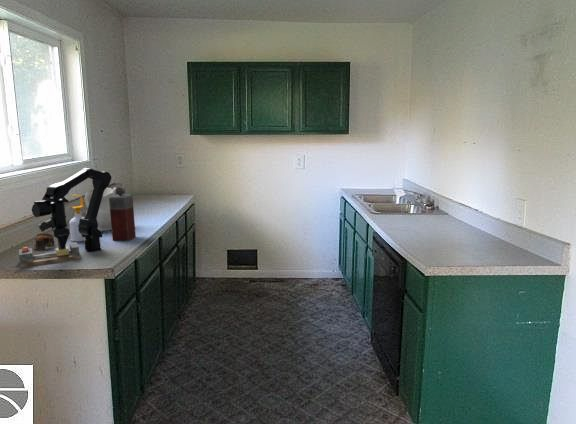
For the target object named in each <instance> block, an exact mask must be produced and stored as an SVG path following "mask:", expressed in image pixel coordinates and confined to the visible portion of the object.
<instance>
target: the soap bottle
mask: <svg viewBox="0 0 576 424" xmlns="http://www.w3.org/2000/svg"><path fill="white" fill-rule="evenodd" d="M71 195H72V196H75V197H79V199H80V205H78V206H72V207H71V209H74V210H75V212H74V217H73V218H71V219H70V220H69V223H68V224H69V232H70V239H71V241H72V242H78V243H79V242H84V241H85V237H82V235H81V234H80V232H79V231H78V228H79V227H78V225H79V221H80V219H84V218H85V217H84V216H83V215H82V211H80V210H81V209H83V208H84V206H85V204H84V203H85V200H84V197H83V196H81V195H79V194H73V193H72V194H71Z"/></svg>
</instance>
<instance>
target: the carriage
mask: <svg viewBox="0 0 576 424" xmlns="http://www.w3.org/2000/svg"><path fill="white" fill-rule="evenodd" d="M56 239H57V246H58V247H56V248H55V252H57V256H62V255H69V251H70V247H68V246H66V245H65V248H64V249H61V246H60V243H59V240H58V238H56Z"/></svg>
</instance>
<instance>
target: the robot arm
mask: <svg viewBox="0 0 576 424" xmlns="http://www.w3.org/2000/svg"><path fill="white" fill-rule="evenodd" d="M87 179H90V180H92V187H93V189H92V191H93V192H92V196H91V197H90V198H89V207H88V208H87V211H86V213H87V214H86V213H85V218H84V219H80V221H79V225H78V227H79V228H78V231H79V232H80V234H81V235H82V237H85V241H83V244H84V246H83V247H84V250H86V252H94V251H101V250H102V247H101V238H102V237H103V231H100V230H98V222H97V215H98V211H99V208H100V204H101V200H102V197H103V193H104V190H105V189H106V188H109V185H110V183H111V181H112V175H111V174H110V172H108V171H100V170H96V169H93V168H90V167H88V168H87V167H84V168H82V169H81V170H79V171H78V172H77V173H75V174H73V175H71V176H70V177H68V178H66V179H65V180H63V181H59V182H57V183H56V182H55V183H53V184H51V185H48V187H46V190H45V193H44V195H43V197H42V199H41V200H35V201H33V205H31V213H32V214H33V216H34V217H35V218H39V217H40V218H41V217H46V216H49V215H50V218H48V219H46V220H44V221H41V222H39V223H38V224H37V227H38V228H39V230H40V231H41V232H42V233H43V232H45V231H46V230H48V229H51V231H52V233H53V234H52V235H53V236H54V237H55V238H56V239H57V238H58V239H57V241H58V240H59V243H60V246H61V249H64V248H65V246H66V244H67V243H68V242H67V241H68V239H69V236H70V235H71V233H70V228H69V227H68V223H67V215H66V207H65V203H68V202H69V199H67V198H66V197H65V196H67V195H68V194H69V192H70V191H71V190H72V189H73V188H74V187H76V186H78V185H80V184H81V183H82V182H84V181H86V180H87ZM54 237H53V238H54Z"/></svg>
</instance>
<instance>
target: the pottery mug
mask: <svg viewBox="0 0 576 424" xmlns="http://www.w3.org/2000/svg"><path fill="white" fill-rule="evenodd" d="M34 241H35V244H34V245H33V249H34V250H46V247H47V248H51V247H52V246H54V245H55V239H54V234H51V233H43V232H42V233H38V234H37V235H36V236H35V238H34Z"/></svg>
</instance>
